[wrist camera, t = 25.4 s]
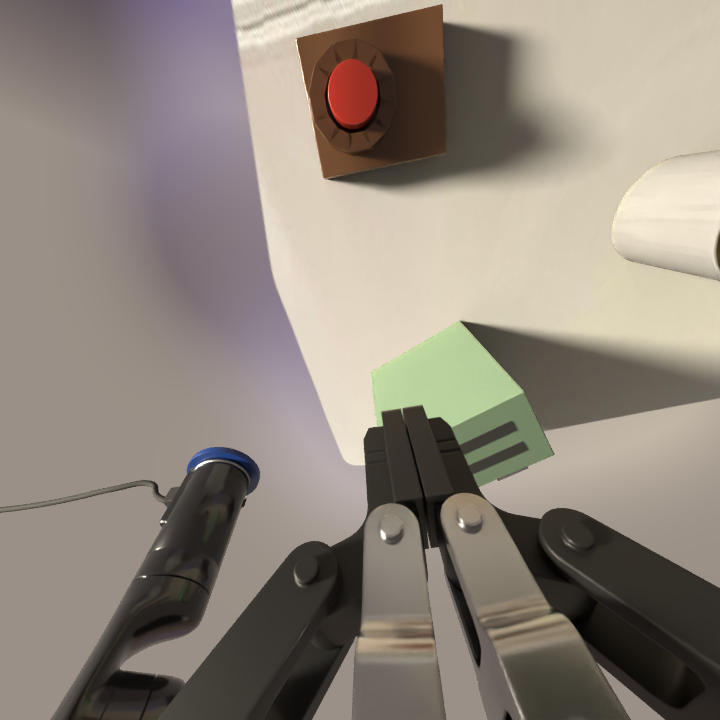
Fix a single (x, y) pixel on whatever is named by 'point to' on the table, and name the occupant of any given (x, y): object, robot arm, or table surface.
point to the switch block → (380, 91)
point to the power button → (352, 93)
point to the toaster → (465, 401)
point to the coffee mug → (673, 216)
